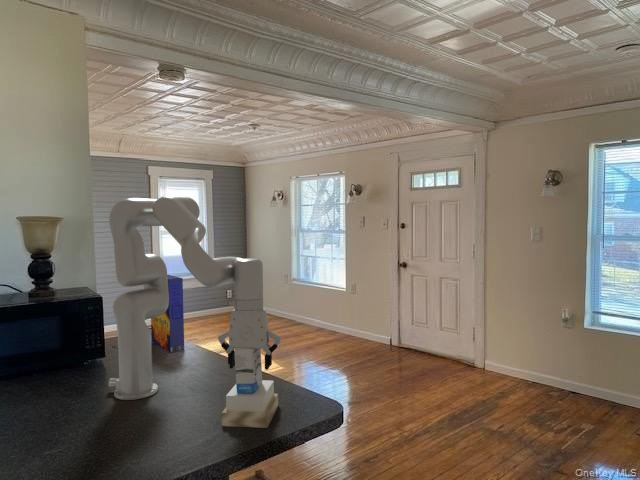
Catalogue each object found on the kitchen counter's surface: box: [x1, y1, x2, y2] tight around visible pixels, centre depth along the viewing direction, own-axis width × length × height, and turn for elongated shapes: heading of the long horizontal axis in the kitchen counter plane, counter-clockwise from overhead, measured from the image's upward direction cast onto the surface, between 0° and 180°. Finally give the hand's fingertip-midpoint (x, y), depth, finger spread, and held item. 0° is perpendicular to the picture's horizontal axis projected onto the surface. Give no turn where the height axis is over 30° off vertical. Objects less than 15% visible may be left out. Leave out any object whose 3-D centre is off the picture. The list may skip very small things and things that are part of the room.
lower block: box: [221, 393, 279, 429], centre depth 125 cm, size 12×14×4 cm
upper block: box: [225, 379, 275, 412], centre depth 125 cm, size 10×12×4 cm
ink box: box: [234, 348, 263, 393], centre depth 124 cm, size 9×5×12 cm, turn 170°
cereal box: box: [150, 274, 185, 354], centre depth 194 cm, size 22×6×30 cm, turn 39°
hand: (249, 367), depth 124 cm, fingers open, 9 cm apart
